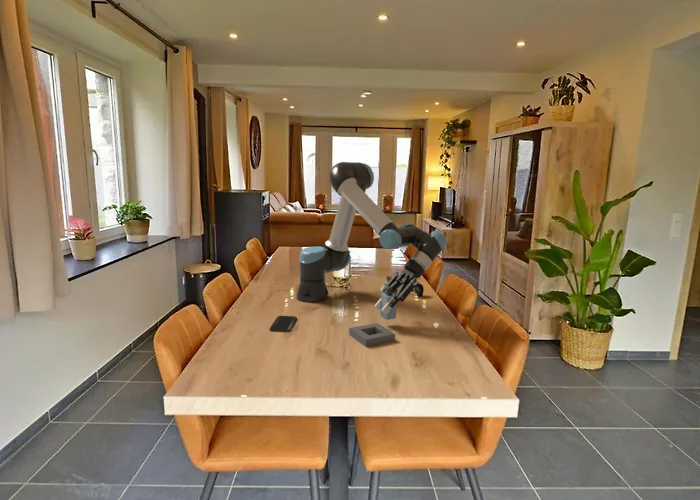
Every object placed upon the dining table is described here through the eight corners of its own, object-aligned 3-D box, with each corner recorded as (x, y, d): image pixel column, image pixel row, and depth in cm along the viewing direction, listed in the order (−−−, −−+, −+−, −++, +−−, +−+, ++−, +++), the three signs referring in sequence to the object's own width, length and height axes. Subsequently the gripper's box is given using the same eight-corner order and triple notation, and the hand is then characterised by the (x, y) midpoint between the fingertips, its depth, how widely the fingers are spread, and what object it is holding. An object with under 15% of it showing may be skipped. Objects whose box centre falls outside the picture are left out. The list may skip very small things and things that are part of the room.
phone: (297, 316, 171) (289, 330, 156) (297, 319, 171) (289, 332, 156) (278, 315, 171) (268, 329, 156) (278, 318, 171) (268, 331, 157)
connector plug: (380, 316, 165) (381, 286, 163) (389, 314, 167) (391, 285, 165) (386, 319, 161) (387, 289, 159) (395, 318, 163) (397, 288, 161)
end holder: (349, 334, 155) (349, 328, 154) (377, 329, 160) (377, 323, 160) (365, 346, 144) (365, 339, 144) (394, 340, 150) (395, 333, 149)
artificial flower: (416, 302, 200) (412, 283, 197) (378, 297, 215) (374, 280, 212) (425, 293, 207) (421, 274, 204) (388, 289, 221) (383, 272, 218)
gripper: (436, 276, 160) (398, 323, 156) (409, 266, 176) (373, 309, 171) (426, 263, 157) (386, 311, 152) (399, 254, 172) (362, 298, 168)
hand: (380, 310), depth 162 cm, fingers closed on connector plug, 4 cm apart
